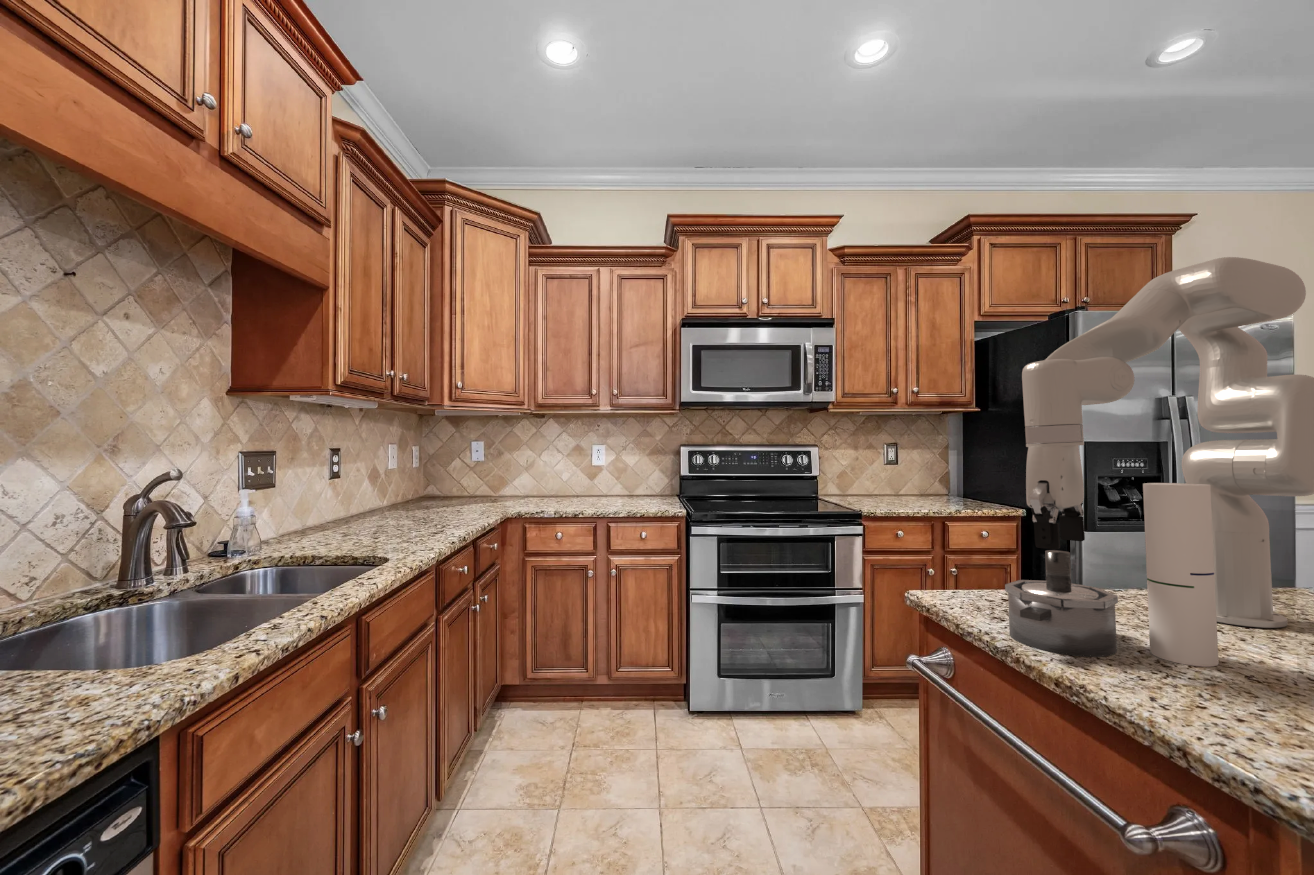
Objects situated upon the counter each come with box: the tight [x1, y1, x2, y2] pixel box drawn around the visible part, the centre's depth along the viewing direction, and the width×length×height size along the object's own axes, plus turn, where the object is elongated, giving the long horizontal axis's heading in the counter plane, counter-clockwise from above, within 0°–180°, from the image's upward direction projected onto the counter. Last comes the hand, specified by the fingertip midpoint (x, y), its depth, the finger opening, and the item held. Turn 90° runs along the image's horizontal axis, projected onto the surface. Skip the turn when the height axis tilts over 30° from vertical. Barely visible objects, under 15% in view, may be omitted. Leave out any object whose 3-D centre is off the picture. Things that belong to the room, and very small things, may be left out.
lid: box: [1022, 549, 1099, 600], centre depth 87 cm, size 10×10×7 cm
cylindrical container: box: [1142, 482, 1220, 668], centre depth 79 cm, size 7×7×25 cm
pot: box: [1004, 579, 1119, 658], centre depth 86 cm, size 21×14×8 cm, turn 124°
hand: (1060, 544), depth 87 cm, fingers open, 9 cm apart
